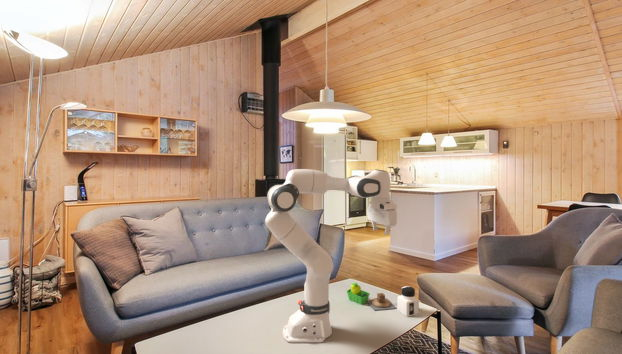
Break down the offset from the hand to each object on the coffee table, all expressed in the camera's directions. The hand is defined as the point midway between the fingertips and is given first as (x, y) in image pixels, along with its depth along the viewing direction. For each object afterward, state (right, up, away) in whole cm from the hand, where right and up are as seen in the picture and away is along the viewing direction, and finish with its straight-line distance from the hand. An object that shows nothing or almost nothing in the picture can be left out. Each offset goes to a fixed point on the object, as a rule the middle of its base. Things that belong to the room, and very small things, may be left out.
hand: (380, 232), depth 157 cm
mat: (+5, -43, +21) cm, 48 cm away
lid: (+5, -42, +21) cm, 47 cm away
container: (+16, -43, +12) cm, 48 cm away
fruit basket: (-8, -43, +26) cm, 50 cm away
